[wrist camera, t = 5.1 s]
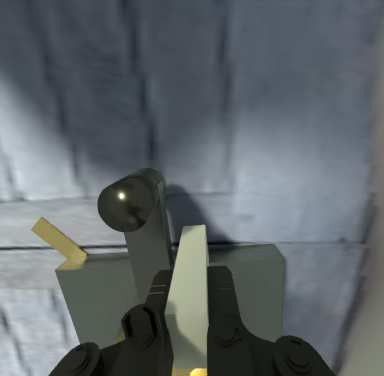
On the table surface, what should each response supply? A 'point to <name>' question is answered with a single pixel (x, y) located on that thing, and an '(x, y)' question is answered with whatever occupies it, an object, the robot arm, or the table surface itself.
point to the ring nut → (142, 231)
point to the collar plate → (127, 294)
